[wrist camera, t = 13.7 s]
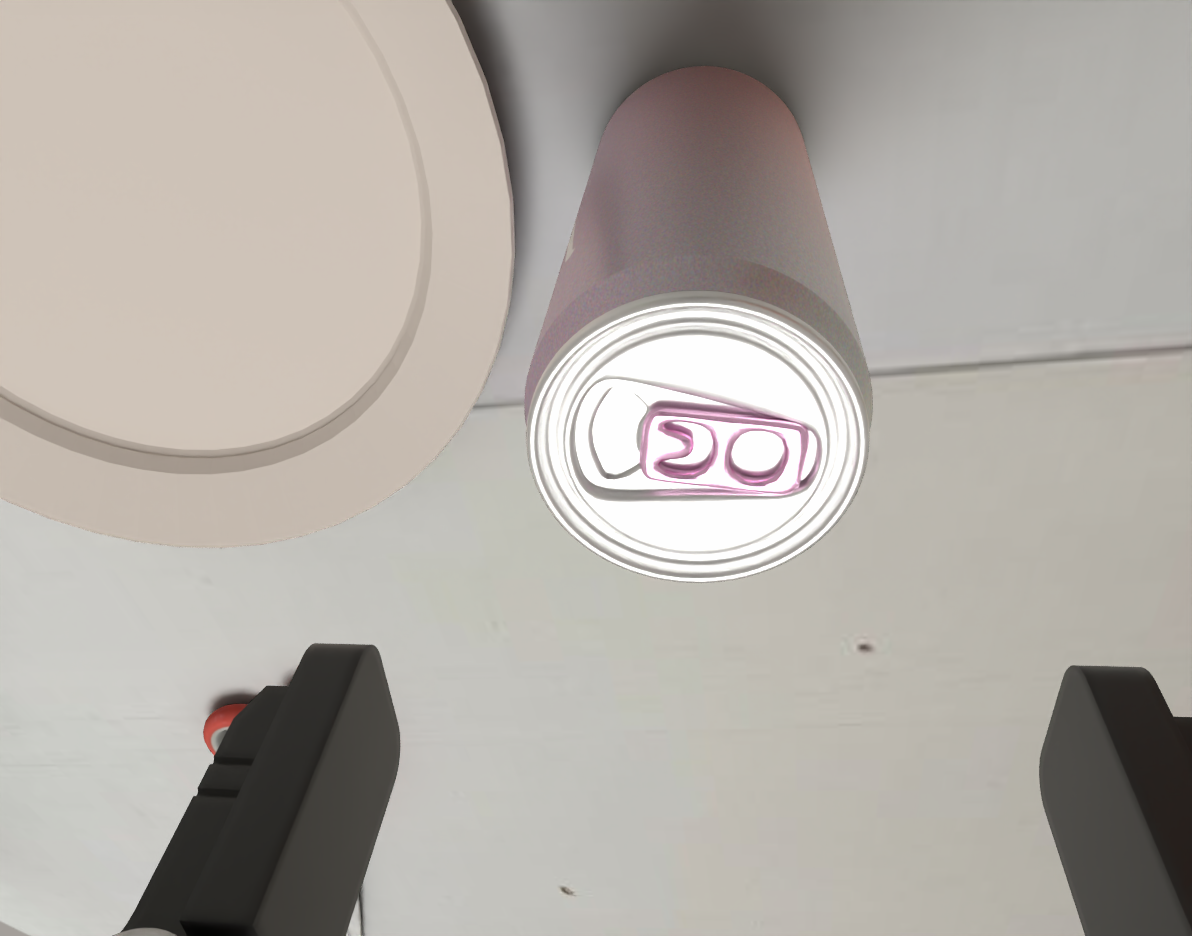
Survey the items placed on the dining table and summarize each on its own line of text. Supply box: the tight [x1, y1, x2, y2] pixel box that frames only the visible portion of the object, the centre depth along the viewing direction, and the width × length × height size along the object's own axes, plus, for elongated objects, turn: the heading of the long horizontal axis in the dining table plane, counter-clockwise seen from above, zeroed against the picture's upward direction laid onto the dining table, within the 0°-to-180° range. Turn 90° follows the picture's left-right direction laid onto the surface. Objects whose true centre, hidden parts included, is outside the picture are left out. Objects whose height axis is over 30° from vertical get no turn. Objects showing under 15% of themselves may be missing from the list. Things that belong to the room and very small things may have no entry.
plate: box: [0, 0, 515, 548], centre depth 30 cm, size 26×26×2 cm
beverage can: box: [524, 66, 873, 583], centre depth 22 cm, size 6×6×15 cm
